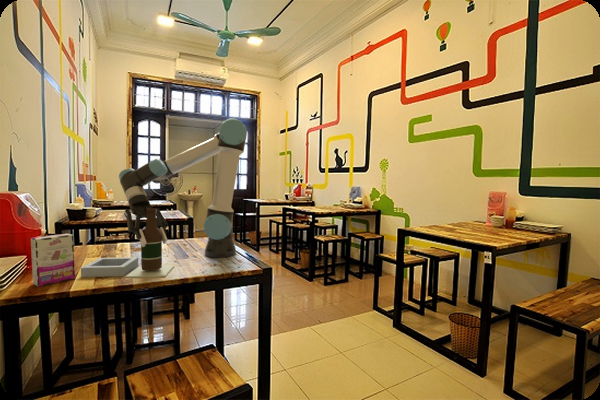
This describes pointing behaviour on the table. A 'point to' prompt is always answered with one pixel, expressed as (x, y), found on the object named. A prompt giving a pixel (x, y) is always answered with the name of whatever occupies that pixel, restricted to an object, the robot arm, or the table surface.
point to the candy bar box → (52, 259)
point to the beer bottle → (151, 244)
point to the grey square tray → (109, 267)
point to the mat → (150, 272)
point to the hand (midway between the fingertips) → (155, 243)
